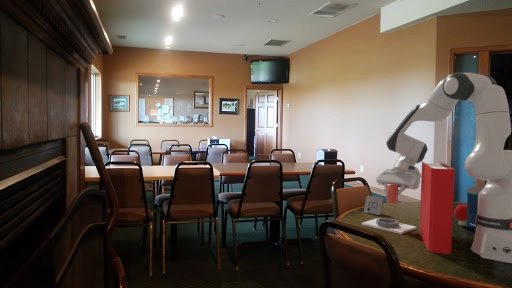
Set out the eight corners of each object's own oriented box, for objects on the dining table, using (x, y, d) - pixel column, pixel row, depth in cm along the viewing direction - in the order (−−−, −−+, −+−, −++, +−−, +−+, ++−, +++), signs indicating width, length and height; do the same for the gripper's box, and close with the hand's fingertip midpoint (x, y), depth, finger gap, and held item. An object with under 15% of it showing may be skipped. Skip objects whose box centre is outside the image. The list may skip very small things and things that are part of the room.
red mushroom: (454, 222, 186) (454, 202, 186) (470, 224, 183) (471, 204, 182) (452, 226, 178) (453, 206, 178) (469, 229, 175) (470, 208, 174)
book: (419, 232, 169) (422, 161, 167) (438, 233, 167) (441, 162, 165) (428, 252, 143) (431, 168, 141) (452, 254, 141) (455, 169, 139)
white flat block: (416, 228, 175) (416, 222, 175) (401, 234, 165) (401, 227, 165) (377, 220, 190) (377, 214, 189) (361, 224, 180) (361, 218, 180)
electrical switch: (363, 212, 205) (364, 195, 205) (367, 212, 209) (368, 195, 209) (380, 215, 199) (381, 198, 199) (384, 215, 203) (385, 197, 203)
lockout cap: (399, 202, 178) (400, 184, 177) (394, 203, 175) (394, 185, 174) (389, 200, 182) (390, 183, 181) (384, 202, 178) (384, 184, 178)
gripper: (380, 164, 190) (369, 185, 184) (420, 168, 174) (410, 191, 168) (384, 172, 193) (374, 193, 187) (424, 177, 178) (414, 200, 172)
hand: (391, 192), depth 177 cm, fingers closed on lockout cap, 5 cm apart
